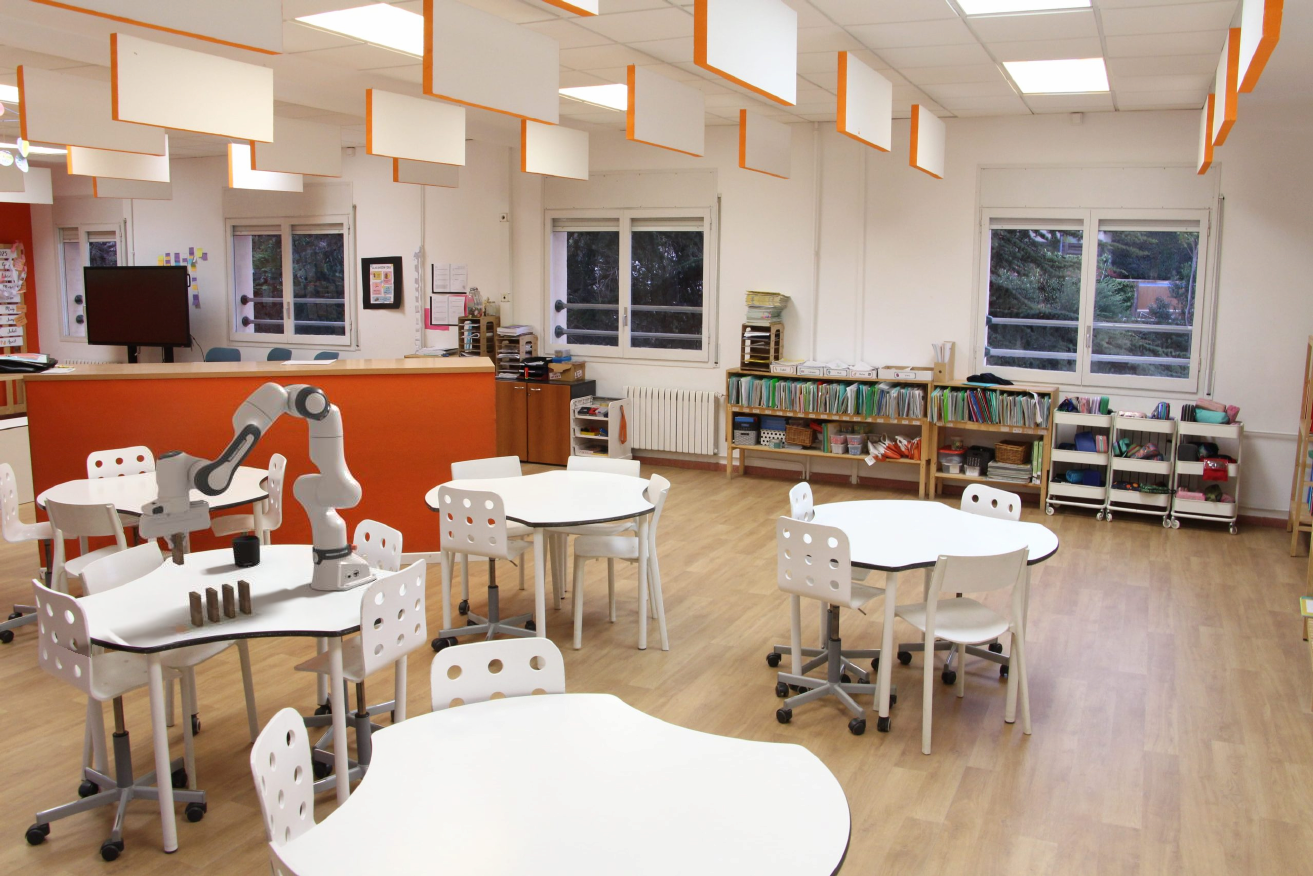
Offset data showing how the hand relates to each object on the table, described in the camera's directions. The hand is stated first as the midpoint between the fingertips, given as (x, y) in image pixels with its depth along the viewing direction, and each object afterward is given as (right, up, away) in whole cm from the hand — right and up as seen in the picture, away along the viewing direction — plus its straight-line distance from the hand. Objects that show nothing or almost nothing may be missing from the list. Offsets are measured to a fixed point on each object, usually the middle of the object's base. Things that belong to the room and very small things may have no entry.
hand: (177, 547), depth 300 cm
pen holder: (-4, -13, +61) cm, 62 cm away
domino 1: (+8, -24, -3) cm, 25 cm away
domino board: (+11, -24, +1) cm, 26 cm away
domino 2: (+11, -23, +1) cm, 25 cm away
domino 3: (+14, -22, +5) cm, 27 cm away
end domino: (0, -5, +1) cm, 5 cm away
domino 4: (+18, -22, +8) cm, 29 cm away
